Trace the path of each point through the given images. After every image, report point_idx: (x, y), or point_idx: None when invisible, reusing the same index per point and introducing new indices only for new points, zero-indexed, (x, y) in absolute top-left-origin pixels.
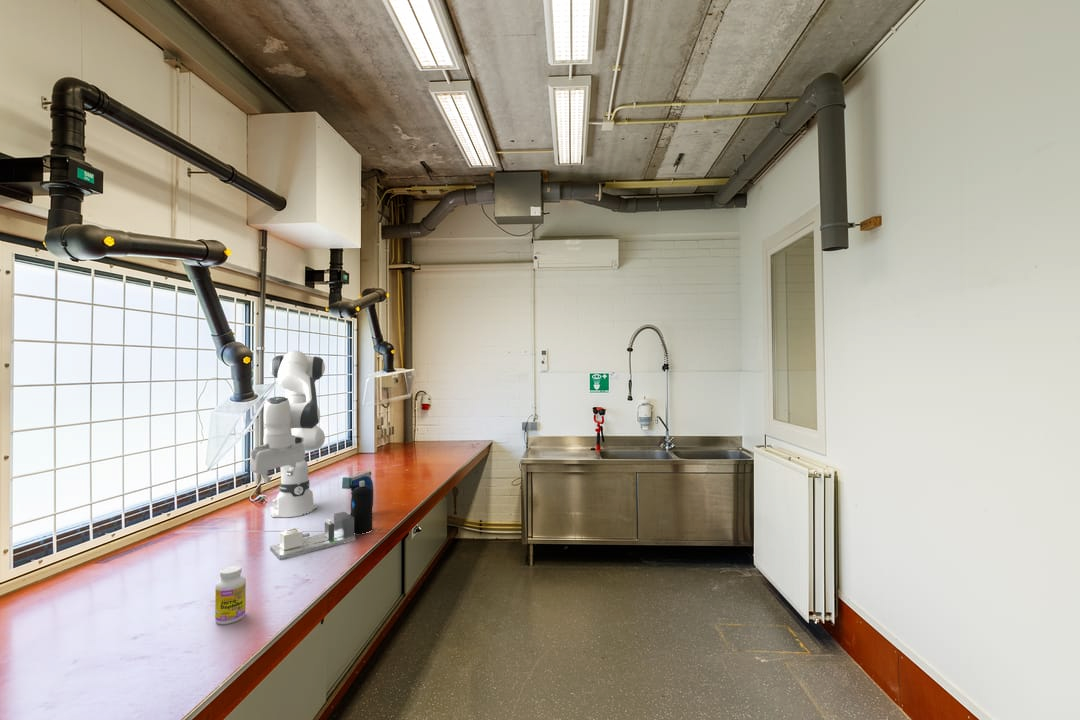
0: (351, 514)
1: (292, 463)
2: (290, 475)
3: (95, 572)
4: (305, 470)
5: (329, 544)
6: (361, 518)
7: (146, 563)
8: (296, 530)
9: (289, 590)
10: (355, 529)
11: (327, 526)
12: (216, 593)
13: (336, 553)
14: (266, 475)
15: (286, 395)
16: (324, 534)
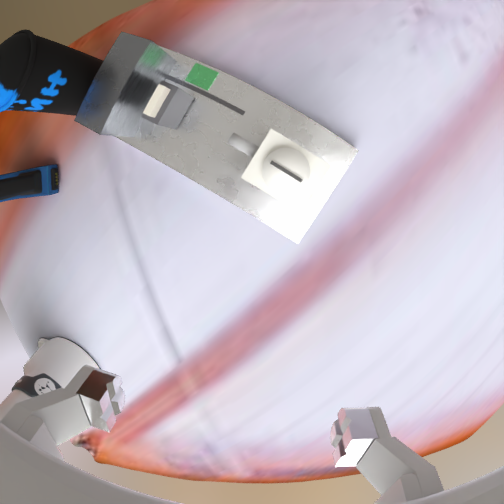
0: (36, 185)
1: (34, 448)
2: (113, 374)
3: (419, 438)
4: (3, 409)
5: (223, 73)
6: (88, 58)
7: (392, 419)
8: (281, 148)
9: (462, 27)
10: None
11: (175, 99)
12: None
13: (264, 25)
14: (407, 458)
15: None
16: (161, 146)
